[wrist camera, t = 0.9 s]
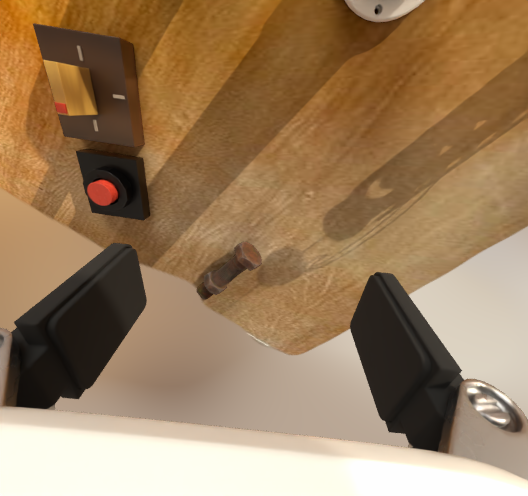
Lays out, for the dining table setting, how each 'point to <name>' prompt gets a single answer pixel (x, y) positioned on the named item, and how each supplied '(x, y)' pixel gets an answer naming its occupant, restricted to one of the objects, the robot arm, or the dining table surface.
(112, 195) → the red button
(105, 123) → the plate
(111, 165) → the button box
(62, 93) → the gold slab
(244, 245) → the bolt
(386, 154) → the dining table surface
